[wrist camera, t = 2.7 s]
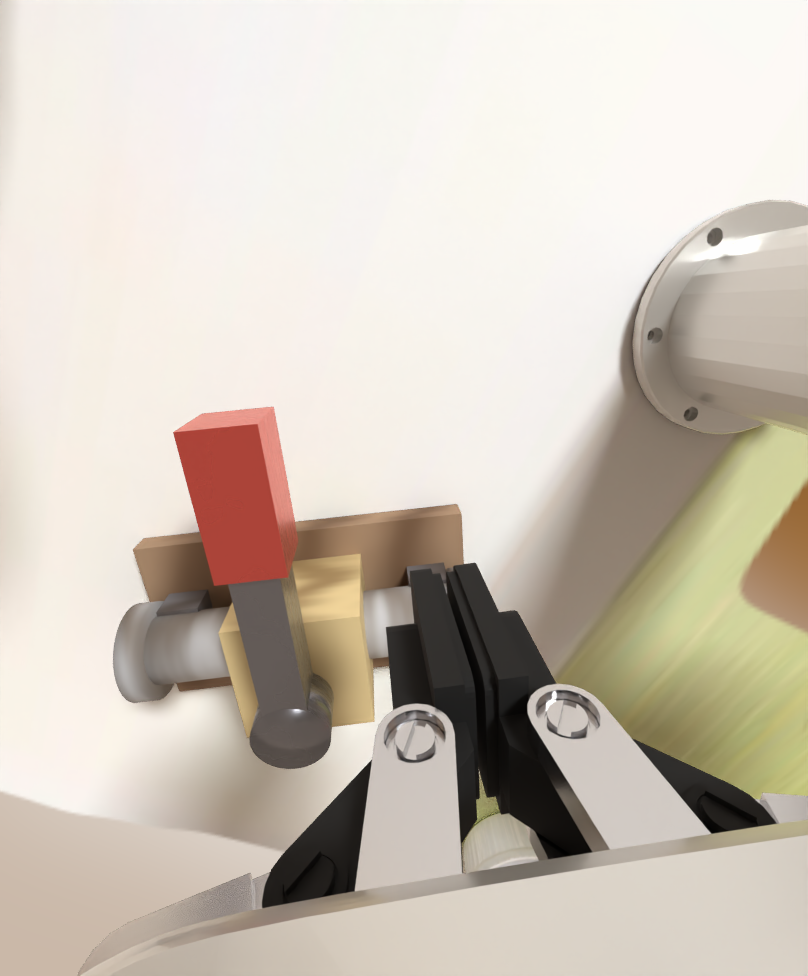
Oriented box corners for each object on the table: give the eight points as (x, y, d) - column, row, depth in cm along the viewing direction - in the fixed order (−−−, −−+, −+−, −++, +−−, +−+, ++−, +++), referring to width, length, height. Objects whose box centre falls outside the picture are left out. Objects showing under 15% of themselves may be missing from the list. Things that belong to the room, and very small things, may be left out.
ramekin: (571, 817, 43) (593, 871, 39) (521, 877, 45) (536, 933, 41) (487, 793, 41) (501, 847, 37) (440, 858, 43) (448, 914, 39)
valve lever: (338, 716, 25) (335, 768, 22) (269, 725, 24) (256, 779, 22) (283, 405, 19) (269, 422, 16) (191, 414, 19) (160, 433, 16)
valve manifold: (456, 504, 31) (491, 577, 22) (463, 641, 35) (495, 748, 26) (143, 538, 30) (57, 628, 21) (186, 675, 34) (128, 796, 25)
